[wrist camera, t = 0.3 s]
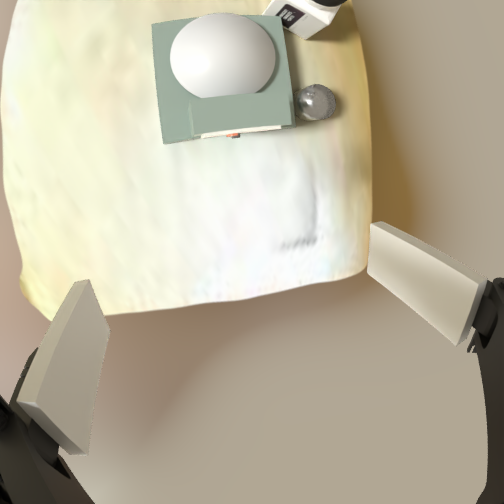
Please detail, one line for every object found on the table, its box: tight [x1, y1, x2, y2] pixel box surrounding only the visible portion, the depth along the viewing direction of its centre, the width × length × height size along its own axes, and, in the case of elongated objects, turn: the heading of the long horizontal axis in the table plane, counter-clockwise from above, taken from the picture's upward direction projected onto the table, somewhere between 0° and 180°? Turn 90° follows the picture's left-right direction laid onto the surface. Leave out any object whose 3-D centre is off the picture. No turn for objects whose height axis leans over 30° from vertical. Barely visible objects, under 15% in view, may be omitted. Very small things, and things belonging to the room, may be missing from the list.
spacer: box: [293, 84, 336, 121], centre depth 33 cm, size 5×5×4 cm
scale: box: [152, 13, 296, 144], centre depth 27 cm, size 18×17×10 cm
